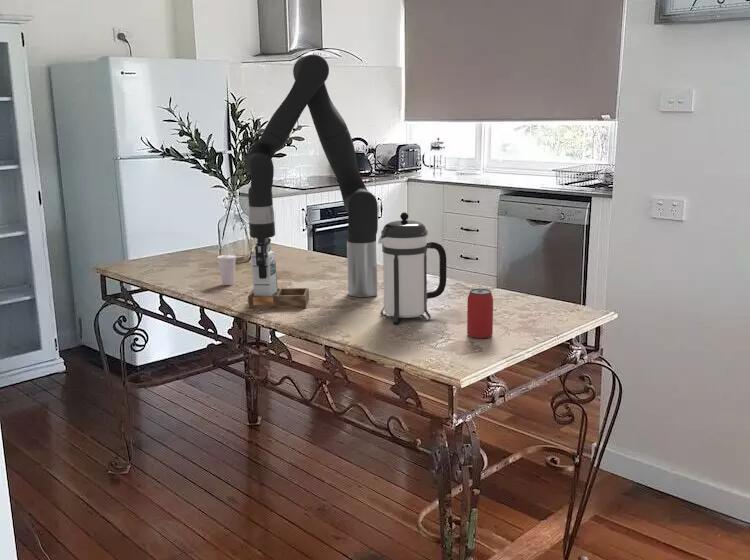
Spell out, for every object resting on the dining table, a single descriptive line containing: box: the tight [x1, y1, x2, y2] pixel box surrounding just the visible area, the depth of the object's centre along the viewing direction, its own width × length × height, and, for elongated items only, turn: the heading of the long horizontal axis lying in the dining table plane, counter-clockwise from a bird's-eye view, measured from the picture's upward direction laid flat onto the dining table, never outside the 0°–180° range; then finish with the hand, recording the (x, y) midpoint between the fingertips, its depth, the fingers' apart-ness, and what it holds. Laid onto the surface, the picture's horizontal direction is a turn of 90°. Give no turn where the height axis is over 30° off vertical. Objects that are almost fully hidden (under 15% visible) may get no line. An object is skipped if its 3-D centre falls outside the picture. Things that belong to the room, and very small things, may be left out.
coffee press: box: [377, 211, 447, 325], centre depth 212 cm, size 17×16×30 cm
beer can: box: [466, 287, 494, 340], centre depth 196 cm, size 7×7×12 cm
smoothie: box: [216, 243, 237, 286], centre depth 255 cm, size 6×6×14 cm
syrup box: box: [250, 249, 278, 296], centre depth 229 cm, size 6×6×14 cm
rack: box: [247, 287, 310, 310], centre depth 231 cm, size 17×10×4 cm, turn 89°
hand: (264, 275), depth 229 cm, fingers closed on syrup box, 6 cm apart
